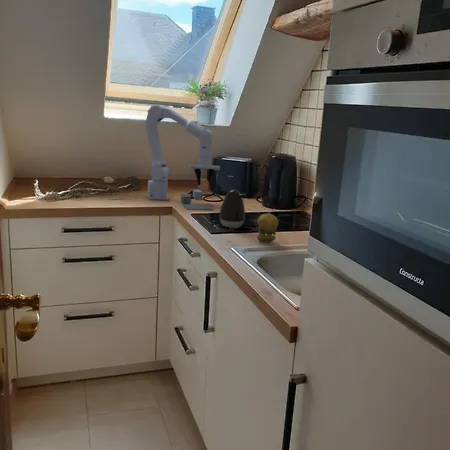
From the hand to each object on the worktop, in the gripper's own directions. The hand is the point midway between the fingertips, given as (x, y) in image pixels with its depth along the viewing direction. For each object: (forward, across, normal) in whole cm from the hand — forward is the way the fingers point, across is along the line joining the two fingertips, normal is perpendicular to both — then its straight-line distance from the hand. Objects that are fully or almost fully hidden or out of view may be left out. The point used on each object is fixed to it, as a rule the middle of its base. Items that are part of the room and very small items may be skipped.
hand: (203, 185), depth 229 cm
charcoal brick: (+9, -8, 0) cm, 12 cm away
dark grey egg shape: (+9, +3, -41) cm, 42 cm away
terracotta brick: (+2, 0, 0) cm, 2 cm away
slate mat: (+9, -4, -9) cm, 13 cm away
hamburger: (+9, +10, -62) cm, 63 cm away
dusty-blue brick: (+9, 0, +11) cm, 14 cm away
